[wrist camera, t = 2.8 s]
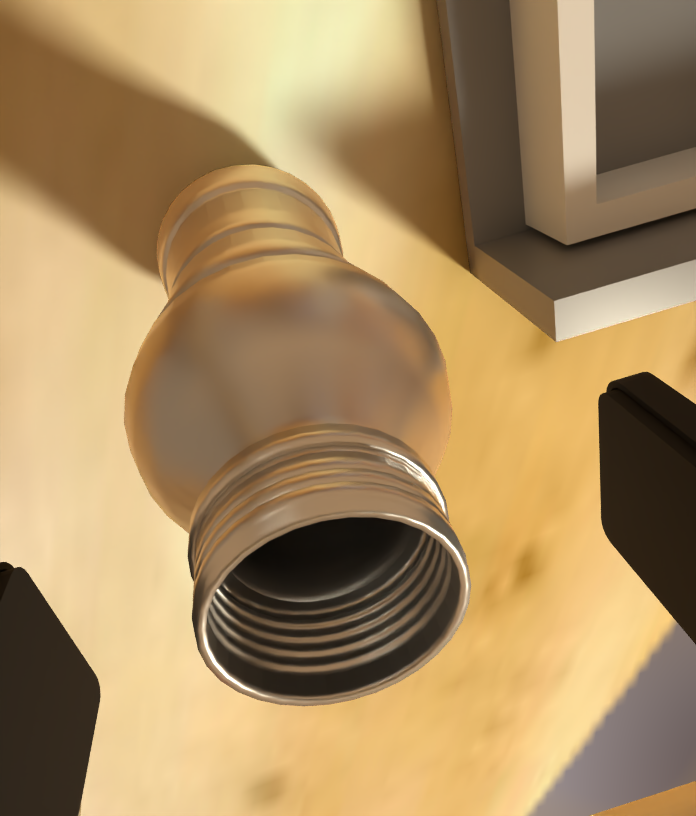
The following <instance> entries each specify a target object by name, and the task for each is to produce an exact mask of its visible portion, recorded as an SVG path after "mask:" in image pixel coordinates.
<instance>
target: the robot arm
mask: <svg viewBox="0 0 696 816" xmlns="http://www.w3.org/2000/svg"><path fill="white" fill-rule="evenodd" d="M598 408H599V448H600V488H601V521H602V526H603V529H604V532H605V534H606V536H607V538H608V539H609V541H610V542H611V543H612V545H613V546H614V547H615V548H616V549H617V551H618V552H619V553H620V554H621V555H622V557H623V558H624V559H625V560H626V561H627V563H628V564H629V565H630V566H631V567H632V569H633V570H634V571H635V572H636V573H637V575H638V576H639V577H640V578H641V579H642V581H643V582H644V583H645V584H646V585H647V587H648V588H649V589H650V590H651V591H652V593H653V594H654V595H655V596H656V597H657V599H658V600H659V601H660V602H661V603H662V605H663V606H664V607H665V608H666V609H667V611H668V612H669V613H670V614H671V615H672V617H673V618H674V619H675V620H676V621H677V623H678V624H679V625H680V626H681V627H682V628H683V629H684V631H685V632H686V633H687V634H688V636H689V637H690V638H691V639H692V640H693V642H694V643H695V644H696V404H694V403H693V402H692V401H690V400H689V399H687V398H686V397H684V396H683V395H682V394H680V393H679V392H677V391H676V390H674V389H673V388H671V387H670V386H669V385H667V384H666V383H664V382H663V381H661V380H660V379H659V378H657V377H656V376H654V375H653V374H651V373H649V372H642V373H638V374H635V375H632V376H628V377H625V378H621V379H618V380H615V381H612V382H610V383H609V384H608V387H607V392H606V393H603V394H601V395H600V397H599V402H598ZM99 703H100V686H99V682H98V679H97V677H96V675H95V673H94V672H93V670H92V669H91V667H90V666H89V664H88V663H87V661H86V660H85V658H84V657H83V655H82V654H81V652H80V651H79V649H78V648H77V646H76V645H75V643H74V642H73V640H72V639H71V637H70V636H69V634H68V633H67V631H66V630H65V628H64V627H63V625H62V624H61V622H60V621H59V619H58V618H57V616H56V615H55V613H54V612H53V610H52V609H51V607H50V606H49V604H48V603H47V601H46V600H45V598H44V597H43V595H42V594H41V592H40V591H39V589H38V588H37V586H36V585H35V583H34V582H33V580H32V579H31V577H30V576H29V574H28V573H27V572H26V571H25V569H23V568H21V567H17V568H14V567H13V566H12V565H11V564H9V563H7V562H0V816H78V815H79V810H80V805H81V799H82V794H83V788H84V783H85V778H86V772H87V767H88V762H89V756H90V751H91V746H92V740H93V735H94V730H95V724H96V719H97V714H98V708H99ZM590 816H696V781H695V782H692V783H688V784H685V785H682V786H679V787H676V788H673V789H670V790H667V791H664V792H661V793H658V794H655V795H652V796H649V797H645V798H642V799H639V800H636V801H633V802H630V803H627V804H624V805H621V806H618V807H615V808H612V809H609V810H606V811H602V812H599V813H596V814H593V815H590Z"/></svg>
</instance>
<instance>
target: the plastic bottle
mask: <svg viewBox="0 0 696 816" xmlns="http://www.w3.org/2000/svg"><path fill="white" fill-rule="evenodd" d="M157 261H158V267H159V273H160V277H161V280H162V284H163V286H164V289H165V291H166V294H167V296H168V299H169V300H168V303H167V304H166V306H165V307H164V309H163V310H162V312H161V313H160V315H159V316H158V318H157V320H156V321H155V322H154V324H153V325H152V327H151V329H150V331H149V333H148V335H147V336H146V338H145V340H144V342H143V344H142V345H141V347H140V350H139V352H138V355H137V358H136V360H135V363H134V365H133V368H132V372H131V375H130V379H129V382H128V386H127V389H126V393H125V413H124V425H125V429H126V434H127V438H128V443H129V448H130V451H131V454H132V456H133V458H134V461H135V463H136V466H137V468H138V470H139V473H140V475H141V477H142V479H143V481H144V483H145V485H146V487H147V489H148V491H149V493H150V495H151V497H152V498H153V499H154V500H155V502H156V503H157V504H158V505H159V507H160V508H161V509H162V510H163V511H164V513H165V514H166V515H167V516H168V517H169V518H170V519H172V520H173V521H174V522H175V523H177V524H178V525H179V526H180V527H182V528H183V529H184V530H185V531H187V532H188V533H189V544H188V561H189V567H190V572H191V577H192V579H193V581H194V590H193V610H192V621H193V627H194V632H195V637H196V641H197V647H198V650H199V652H200V654H201V656H202V658H203V660H204V662H205V664H206V666H207V667H208V668H209V669H210V670H211V671H212V672H213V673H214V674H215V675H216V676H217V678H218V679H219V680H220V681H222V682H223V683H225V684H226V685H228V686H229V687H231V688H233V689H234V690H236V691H237V692H239V693H242V694H244V695H247V696H249V697H252V698H254V699H257V700H261V701H266V702H270V703H275V704H280V705H294V706H314V705H329V704H334V703H339V702H344V701H349V700H354V699H357V698H360V697H363V696H366V695H370V694H373V693H376V692H378V691H380V690H383V689H385V688H387V687H389V686H391V685H394V684H396V683H398V682H400V681H401V680H403V679H405V678H406V677H408V676H410V675H411V674H413V673H414V672H416V671H418V670H419V669H420V668H422V667H423V666H424V665H425V664H427V663H428V662H429V661H430V660H431V659H433V658H434V657H435V656H436V655H437V654H438V653H439V652H440V651H441V650H442V649H443V648H444V646H445V645H446V644H447V643H448V642H449V641H450V640H451V639H452V637H453V635H454V634H455V632H456V631H457V629H458V627H459V626H460V624H461V623H462V621H463V618H464V615H465V613H466V610H467V607H468V604H469V598H470V590H471V581H470V575H469V569H468V565H467V561H466V555H465V553H464V551H463V549H462V547H461V544H460V542H459V540H458V538H457V536H456V534H455V532H454V530H453V529H452V527H451V524H450V522H449V517H448V511H447V505H446V500H445V498H444V496H443V494H442V491H441V489H440V487H439V485H438V483H437V481H436V479H435V477H434V475H435V473H436V471H437V469H438V467H439V465H440V463H441V461H442V459H443V456H444V453H445V449H446V446H447V443H448V440H449V436H450V430H451V417H452V404H451V397H450V390H449V383H448V376H447V370H446V363H445V359H444V357H443V354H442V352H441V349H440V347H439V344H438V342H437V339H436V337H435V335H434V333H433V332H432V331H431V329H430V328H429V326H428V325H427V324H426V322H425V321H424V319H423V318H422V317H421V315H420V314H419V312H417V311H416V310H415V309H414V308H413V307H412V306H411V305H410V304H408V303H407V302H406V301H405V300H404V299H403V298H402V297H401V296H399V295H398V294H397V293H396V292H395V291H393V290H392V289H391V288H390V287H389V286H388V285H387V284H385V283H384V282H383V281H381V280H380V279H378V278H376V277H374V276H372V275H371V274H369V273H367V272H365V271H364V270H362V269H360V268H358V267H356V266H354V265H352V264H351V263H349V262H348V261H347V260H346V259H345V258H343V250H342V246H341V241H340V237H339V233H338V229H337V225H336V223H335V221H334V219H333V216H332V214H331V212H330V210H329V208H328V207H327V206H326V204H325V203H324V202H323V200H322V199H321V197H320V196H319V195H318V194H317V193H316V192H315V191H314V190H313V189H311V188H310V187H309V186H308V185H307V184H306V183H304V182H303V181H301V180H300V179H298V178H296V177H295V176H293V175H291V174H289V173H287V172H284V171H281V170H278V169H276V168H273V167H267V166H261V165H254V164H250V165H233V166H229V167H225V168H221V169H217V170H214V171H212V172H210V173H208V174H206V175H204V176H202V177H200V178H198V179H196V180H195V181H194V182H193V183H191V184H190V185H189V186H187V187H186V188H185V189H184V190H182V192H181V193H180V194H179V195H178V196H177V198H176V199H175V200H174V201H173V202H172V204H171V205H170V207H169V209H168V211H167V213H166V215H165V216H164V218H163V220H162V224H161V227H160V231H159V235H158V239H157Z"/></svg>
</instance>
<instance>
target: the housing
mask: <svg viewBox="0 0 696 816" xmlns="http://www.w3.org/2000/svg"><path fill="white" fill-rule="evenodd" d="M436 1H437V9H438V17H439V25H440V33H441V41H442V49H443V57H444V65H445V73H446V81H447V89H448V98H449V106H450V114H451V122H452V130H453V138H454V146H455V154H456V162H457V170H458V178H459V186H460V194H461V203H462V211H463V219H464V227H465V235H466V243H467V251H468V259H469V267H470V273H471V274H473V275H474V276H475V277H476V278H477V279H479V280H480V281H481V282H482V283H484V284H485V285H486V286H487V287H489V288H490V289H491V290H492V291H494V292H495V293H496V294H497V295H499V296H500V297H501V298H502V299H504V300H505V301H506V302H507V303H508V304H510V305H511V306H512V307H513V308H515V309H516V310H517V311H518V312H520V313H521V314H522V315H523V316H525V317H526V318H527V319H528V320H530V321H531V322H532V323H533V324H535V325H536V326H537V327H538V328H539V329H541V330H542V331H543V332H544V333H546V334H547V335H548V336H549V337H551V338H552V339H553V340H554V341H556V342H558V341H561V340H565V339H568V338H572V337H575V336H578V335H582V334H585V333H588V332H592V331H595V330H598V329H602V328H605V327H609V326H612V325H615V324H619V323H622V322H625V321H629V320H632V319H635V318H639V317H642V316H646V315H649V314H652V313H656V312H659V311H662V310H666V309H669V308H672V307H676V306H679V305H683V304H686V303H689V302H693V301H696V0H436Z"/></svg>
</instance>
